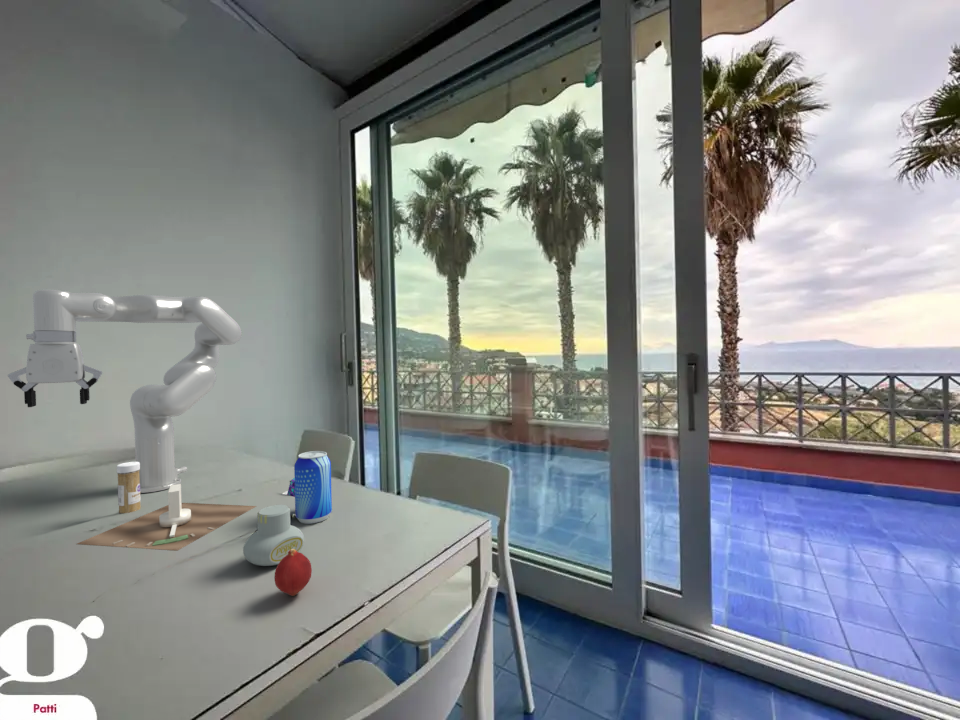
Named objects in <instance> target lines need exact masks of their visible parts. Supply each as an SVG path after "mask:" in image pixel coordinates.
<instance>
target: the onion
mask: <svg viewBox="0 0 960 720" xmlns="http://www.w3.org/2000/svg"><path fill="white" fill-rule="evenodd" d="M312 568H313V567H312V563H311V561H310V559H309V558H308V557H307V556H306V555H305V554H303V553H301V552H300V551H299V552H297V551H296V550H295V549H291V550H290V551H289V552H288V555H286V556H285V557H284V558H283V559H282V560H281V561H280V563H279V564H278V565H276V568H275V571H274V584H275V587H277V589H278V590H279V591H281V592H282V593H284V594H287V595H289V596H290V597H295V596H296V595H298V594H299V593H300V592H301V591H302V590H303V589H305V587H307V585H308V583H309V582H310V580H311V578H312V573H313V572H312V571H313V569H312Z"/></svg>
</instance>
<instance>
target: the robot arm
mask: <svg viewBox="0 0 960 720" xmlns="http://www.w3.org/2000/svg"><path fill="white" fill-rule="evenodd" d="M32 299H33V300H32V302H33V326H34V327H33V328H34V329H33V330H34V331H32V333H26V334H25V335H26V336H25V337H26V339H27V340H31V341H33V343H30V344H29V345H28V350H27V358H26V367H23V368H20V369H19V370H16V371H12V372H10V373H9V374H7V377H8V379H9V380H10V381H11V382H12V384H13V385H14V387H15V386H16V387H17V388H18V389H20V390H21V391H22V392H24V393H23V395H24V397H23V398H24V404H25V405H26V406H27V408H33V407H35V406H37V393H36V391H37V390H34V389H35V387H37V385H39V384H62V383H64V384H65V383H76V384H77V385H79V386H80V389H79V404H80V405H86V404H87V403H88V401H90V398H91V396H90V388H91V387H92V386H93V385H95V384H96V383H97V382H99V379H100V377H101V376H102V375H103V371H102V370H100V369H96V368H94V367H91V366H88V365H85V359H84V355H83V352H82V351H83V349H82V347H81V345H80V343H77V322H81V323H82V322H84V323H86V322H89V323H90V322H93V323H94V322H95V323H97V322H102V323H107V322H108V323H109V322H110V323H111V322H112V323H119V322H121V323H134V324H135V323H137V324H139V323H140V324H145V323H146V324H149V323H150V324H158V323H159V324H169V323H170V324H192V323H193V324H194V323H200V324H198V325H197V326H196V328H195V329H194V348H193V349H192V351H190V352H189V353H188V354H187V355H186V356H185V357H184V358H182V359H180V360H179V361H178V362H177V363H176V364H174V365H173V366H171V367H170V368H169V369H167V371H166V372H165V373H164V375H163V381H162V382H163V384H147V385H143V386H140V387H138V388H137V389H136V390H134V391H133V393H132V394H131V396H130V399H129V407H130V412H131V416H132V420H133V426H134V451H135V462H139V463H140V469H139V470H140V471H139V478H140V494H145V493H146V494H147V493H155V492H159V491H160V492H161V491H164V490H169V489H170V486H171V485H176V484H182V478H181V477H179V475H180V474H183V473H186V472H187V471H188V467H187V466H185V465H183V466H180V467H176V466H175V465H176V464H175V462H176V461H175V437H174V436H175V430H174V429H175V428H174V422H173V419H172V418H174V417H178V416H180V415H181V416H182V415H183V414H185V413H186V412H188V411H189V410H190V409H191V408H193V407H194V406H195V404H197V403H198V402H199V401H200V400H202V398H204V397H205V396H206V395H207V394H208V393H209V392H210V391H211V390H212V389H213V388H214V386H215V384H216V380H217V375H216V371H215V369H214V368H215V367H216V366H217V365H218V364H219V361H220V348H219V347H220V346H230V345H235V344H236V343H238V342H239V341H240V339H241V338H242V333H243V332H242V329H241V326H240V325H239V323H238V322H237V321H236V320H235V319H233V317H231V315H230V314H228V312H226V311H225V310H224V309H223V308H222V307H221V306H220V305H219V304H217V302H215V301H214V300H212V299H210V298H209V297H207V296H202V295H200V296H169V295H168V296H167V295H158V294H157V295H154V294H136V295H135V294H134V295H123V296H121V295H120V296H118V295H117V296H109V295H107V294H104V293H100V292H70V291H68V290H61V289H60V290H59V289H37V290H35V292H33V295H32ZM86 372H87V373H90V374H92V377H91V378H90V379H89V380H88V381H87V380H86ZM23 375H25V377H26V381H27V383H26V382H24V381H23V380H21V378H20V377H21V376H23Z"/></svg>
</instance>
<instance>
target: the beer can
mask: <svg viewBox="0 0 960 720" xmlns="http://www.w3.org/2000/svg"><path fill="white" fill-rule="evenodd" d="M297 456H298V457H297V460H296V461H295V463H294V466H293V467H294V478H295V497H294V504H295V505H294V506H295V507H294V509H295V513H294V514H295V518H296V519H297V520H298V521H299V522H300V523H301V524H306V525H307V524H310V525H311V524H317V523H321V522H323V521H325V520H327V519H328V518H329V516H330V514H331V513H332V512H333V511H332V510H333V508H332V507H333V504H332V500H333V499H332V498H333V497H332V464H331V463H332V462H331V459H330V457H328V453H327V452H326V451H322V450H313V451H311V450H310V451H306V452H301V453H300V454H298V455H297Z"/></svg>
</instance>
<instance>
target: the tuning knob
mask: <svg viewBox="0 0 960 720" xmlns="http://www.w3.org/2000/svg"><path fill="white" fill-rule="evenodd" d="M167 496H168V497H167V499H168V500H167V502H168V503H167V504H168V505H169V511H168V512H165V513H163V514H161V515H160V516H159V521H160V526H161V527H172V528H171V532H170V537H174V536H175V531H176V527H177V526H178V525H182V524H185V523H187V522H189V521H190V520H191V510H190V509H186V508H184V509H182V504H181V503H182V483H180V484H176V485H171V486H170V488H169V489H168V493H167Z"/></svg>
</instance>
